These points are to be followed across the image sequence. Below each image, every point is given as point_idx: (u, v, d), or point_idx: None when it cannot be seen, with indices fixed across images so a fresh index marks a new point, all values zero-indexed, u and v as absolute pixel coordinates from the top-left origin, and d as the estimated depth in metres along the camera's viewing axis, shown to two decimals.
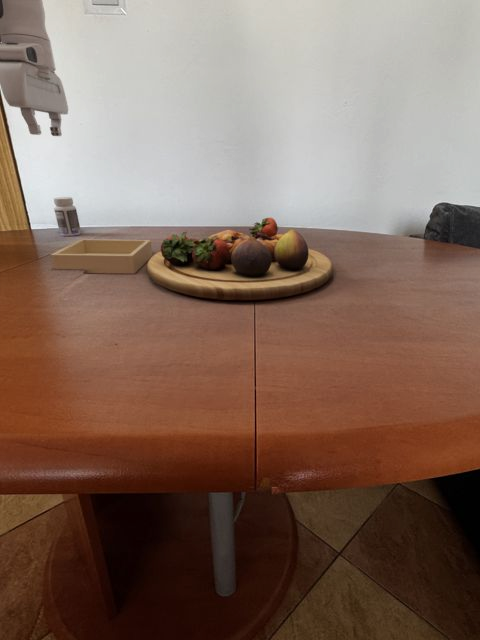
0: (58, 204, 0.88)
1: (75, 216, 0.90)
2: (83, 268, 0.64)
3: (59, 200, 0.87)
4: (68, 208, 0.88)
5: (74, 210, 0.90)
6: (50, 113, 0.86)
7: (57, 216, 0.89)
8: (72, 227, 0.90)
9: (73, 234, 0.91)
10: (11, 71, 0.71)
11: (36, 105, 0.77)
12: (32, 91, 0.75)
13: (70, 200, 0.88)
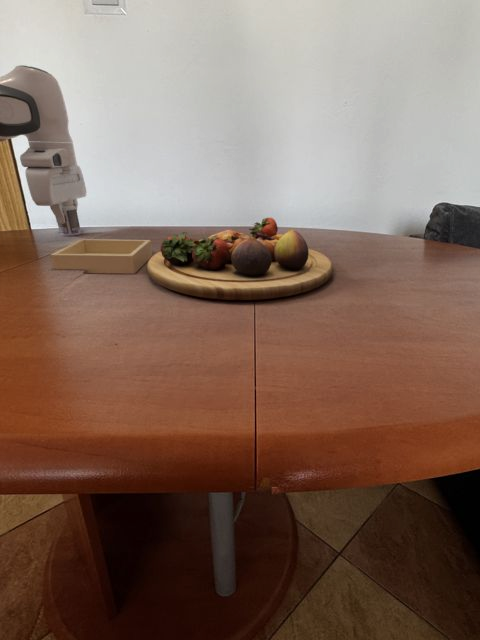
0: None
1: (75, 216, 0.90)
2: (83, 268, 0.64)
3: None
4: (69, 208, 0.88)
5: (74, 210, 0.90)
6: None
7: None
8: (72, 227, 0.90)
9: (73, 234, 0.91)
10: (39, 177, 0.78)
11: (60, 201, 0.84)
12: (56, 190, 0.82)
13: (70, 200, 0.88)
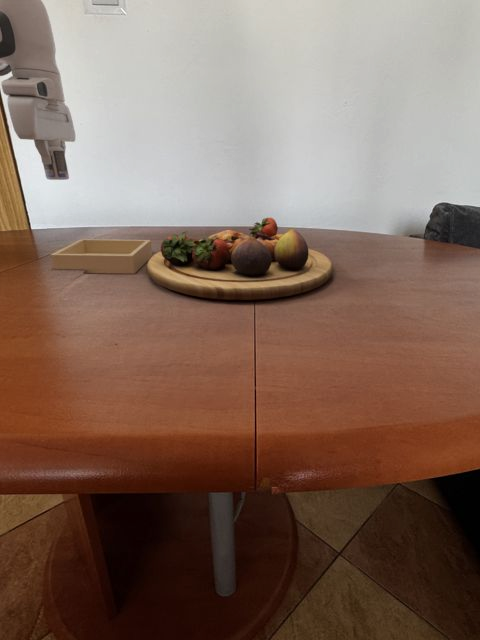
0: None
1: (62, 158, 0.84)
2: (83, 268, 0.64)
3: None
4: (55, 148, 0.82)
5: (61, 151, 0.83)
6: None
7: None
8: (60, 169, 0.84)
9: (60, 178, 0.85)
10: (22, 106, 0.72)
11: (45, 137, 0.78)
12: (41, 124, 0.76)
13: (57, 140, 0.82)
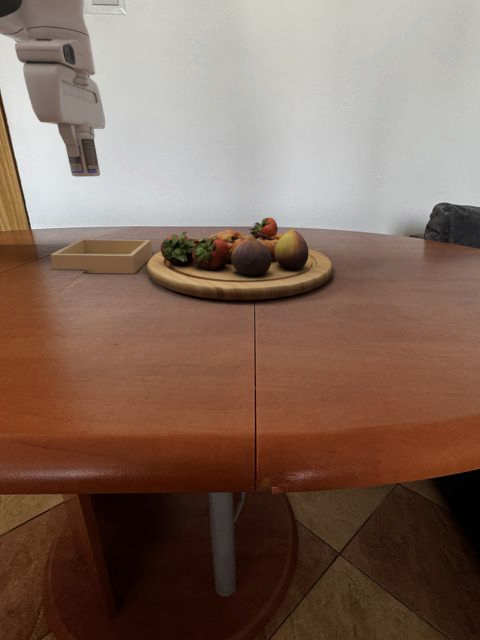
0: None
1: (93, 148, 0.65)
2: (83, 268, 0.64)
3: None
4: (84, 135, 0.63)
5: (91, 140, 0.65)
6: None
7: None
8: (89, 163, 0.65)
9: (90, 174, 0.66)
10: (44, 76, 0.53)
11: (73, 120, 0.59)
12: (68, 102, 0.57)
13: (86, 124, 0.63)
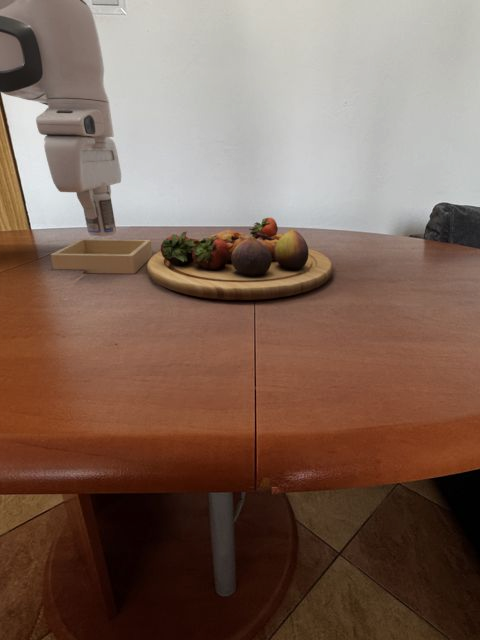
0: None
1: (110, 208, 0.65)
2: (83, 268, 0.64)
3: None
4: (102, 196, 0.63)
5: (109, 200, 0.64)
6: None
7: None
8: (106, 223, 0.65)
9: (107, 233, 0.66)
10: (64, 150, 0.53)
11: (91, 186, 0.59)
12: (87, 170, 0.57)
13: (104, 186, 0.63)
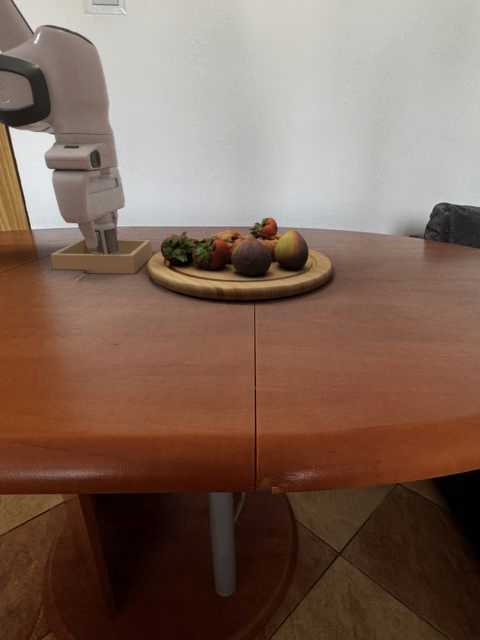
0: None
1: (114, 237, 0.67)
2: (83, 268, 0.64)
3: None
4: (106, 226, 0.65)
5: (113, 229, 0.67)
6: None
7: None
8: (111, 251, 0.67)
9: None
10: (71, 184, 0.55)
11: (97, 216, 0.61)
12: (93, 201, 0.59)
13: (108, 216, 0.66)
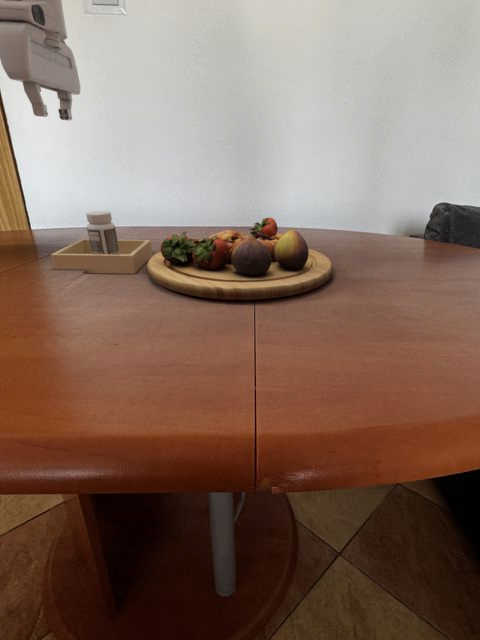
0: (93, 221, 0.65)
1: (114, 237, 0.67)
2: (83, 268, 0.64)
3: (94, 216, 0.64)
4: (106, 226, 0.65)
5: (113, 229, 0.67)
6: (59, 92, 0.72)
7: (91, 237, 0.66)
8: (111, 251, 0.67)
9: None
10: (12, 34, 0.56)
11: (42, 79, 0.62)
12: (37, 61, 0.61)
13: (108, 216, 0.66)
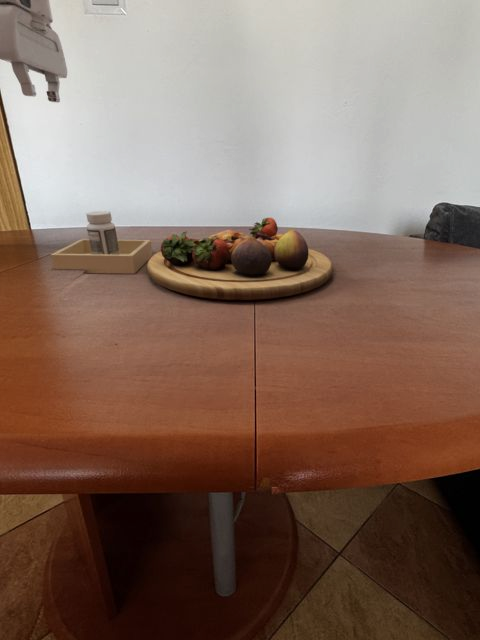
0: (93, 221, 0.65)
1: (114, 237, 0.67)
2: (83, 268, 0.64)
3: (94, 216, 0.64)
4: (106, 226, 0.65)
5: (113, 229, 0.67)
6: (47, 75, 0.75)
7: (91, 237, 0.66)
8: (111, 251, 0.67)
9: None
10: (0, 15, 0.60)
11: (30, 60, 0.66)
12: (25, 42, 0.64)
13: (108, 216, 0.66)
